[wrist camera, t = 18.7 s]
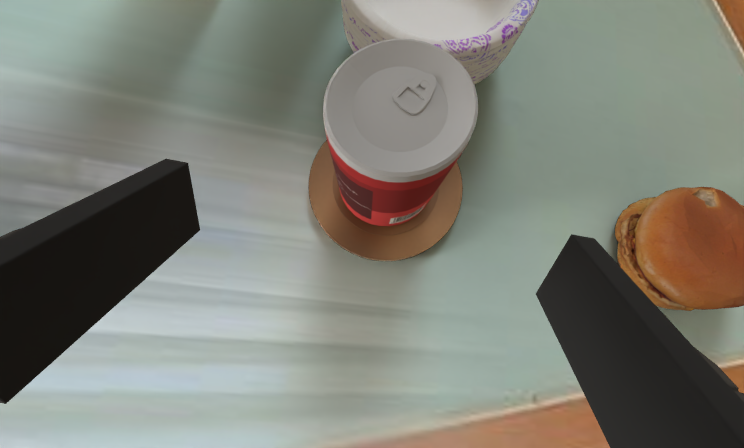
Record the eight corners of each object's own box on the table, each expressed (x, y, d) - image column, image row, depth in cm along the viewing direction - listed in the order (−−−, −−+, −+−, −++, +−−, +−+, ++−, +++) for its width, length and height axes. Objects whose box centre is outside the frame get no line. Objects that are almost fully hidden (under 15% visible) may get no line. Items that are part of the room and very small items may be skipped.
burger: (646, 328, 24) (711, 335, 20) (586, 221, 26) (632, 205, 22) (745, 282, 25) (829, 279, 21) (680, 183, 27) (744, 160, 23)
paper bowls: (445, 146, 27) (476, 87, 20) (313, 59, 29) (294, -26, 22) (527, 34, 30) (583, -54, 23) (403, -38, 32) (415, -143, 25)
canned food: (446, 162, 26) (502, 70, 15) (408, 245, 24) (442, 206, 14) (366, 126, 27) (366, 14, 16) (323, 205, 25) (292, 137, 14)
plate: (293, 244, 25) (291, 242, 24) (328, 108, 28) (327, 102, 27) (449, 275, 25) (452, 274, 24) (468, 133, 28) (471, 128, 27)
